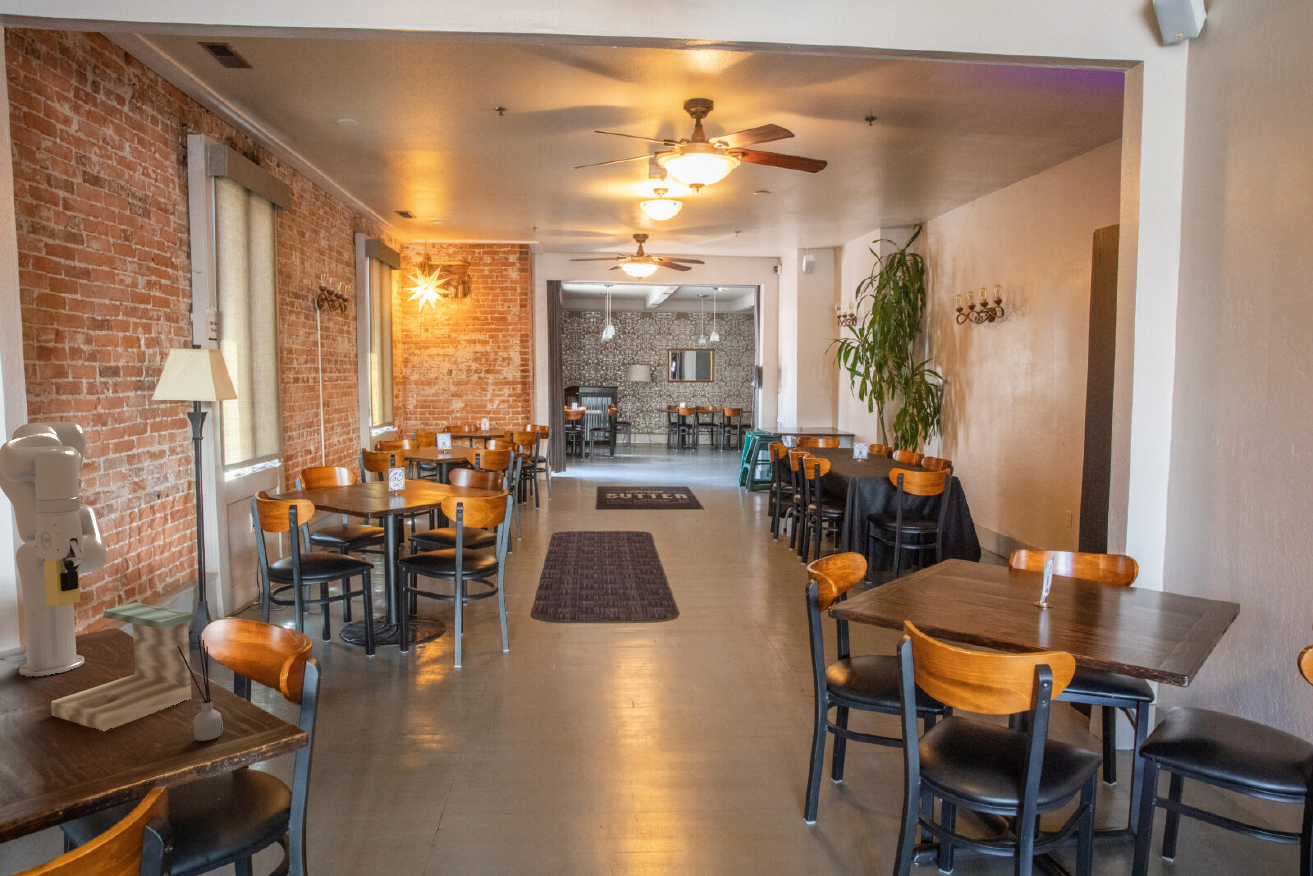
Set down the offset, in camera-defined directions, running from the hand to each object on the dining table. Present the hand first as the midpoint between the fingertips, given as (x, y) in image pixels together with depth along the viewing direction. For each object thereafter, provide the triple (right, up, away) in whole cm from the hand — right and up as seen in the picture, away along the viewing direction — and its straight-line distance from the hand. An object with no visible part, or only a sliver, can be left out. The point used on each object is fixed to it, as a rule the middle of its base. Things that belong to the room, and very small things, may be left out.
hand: (62, 587), depth 174 cm
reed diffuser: (+43, -26, -21) cm, 54 cm away
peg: (0, -3, 0) cm, 3 cm away
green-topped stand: (+17, -24, -5) cm, 30 cm away
